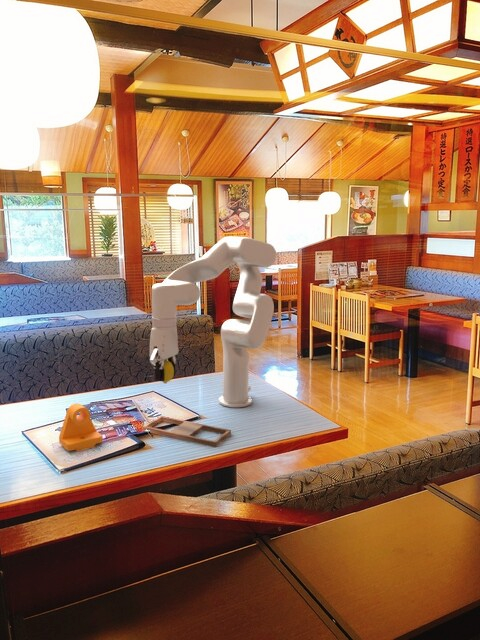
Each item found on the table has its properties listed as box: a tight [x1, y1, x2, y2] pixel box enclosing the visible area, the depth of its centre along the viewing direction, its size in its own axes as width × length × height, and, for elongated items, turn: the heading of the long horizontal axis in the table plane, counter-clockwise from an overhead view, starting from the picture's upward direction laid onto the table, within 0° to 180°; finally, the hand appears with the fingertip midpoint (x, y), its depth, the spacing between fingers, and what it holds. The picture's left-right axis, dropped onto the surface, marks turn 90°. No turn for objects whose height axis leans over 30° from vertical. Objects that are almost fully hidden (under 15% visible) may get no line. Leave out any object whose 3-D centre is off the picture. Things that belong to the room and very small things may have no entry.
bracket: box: [58, 403, 103, 452], centre depth 153 cm, size 11×7×12 cm, turn 129°
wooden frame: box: [141, 415, 232, 448], centre depth 163 cm, size 11×27×2 cm, turn 65°
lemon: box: [159, 359, 174, 384], centre depth 163 cm, size 6×6×8 cm
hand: (165, 377), depth 164 cm, fingers closed on lemon, 5 cm apart
